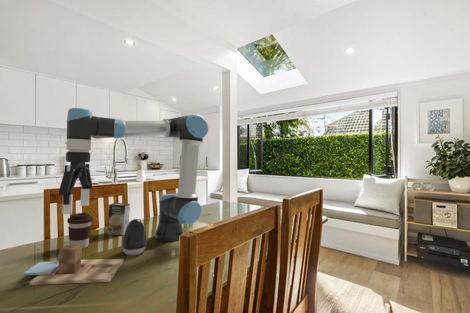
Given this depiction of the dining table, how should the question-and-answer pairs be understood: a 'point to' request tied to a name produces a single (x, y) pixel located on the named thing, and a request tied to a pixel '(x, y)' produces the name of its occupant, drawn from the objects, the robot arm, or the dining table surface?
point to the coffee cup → (79, 229)
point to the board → (83, 273)
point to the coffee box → (118, 218)
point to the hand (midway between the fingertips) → (76, 209)
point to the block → (70, 259)
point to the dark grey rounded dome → (134, 238)
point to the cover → (43, 268)
